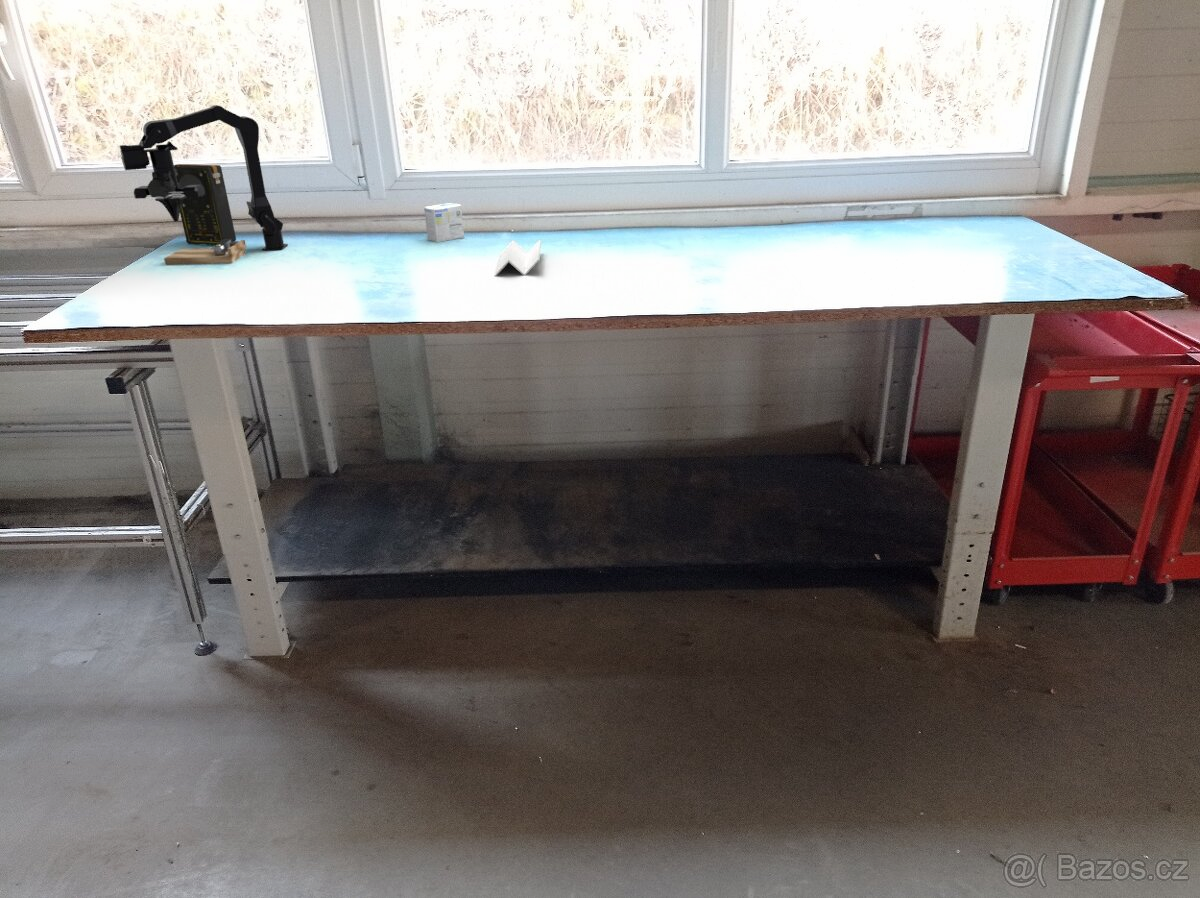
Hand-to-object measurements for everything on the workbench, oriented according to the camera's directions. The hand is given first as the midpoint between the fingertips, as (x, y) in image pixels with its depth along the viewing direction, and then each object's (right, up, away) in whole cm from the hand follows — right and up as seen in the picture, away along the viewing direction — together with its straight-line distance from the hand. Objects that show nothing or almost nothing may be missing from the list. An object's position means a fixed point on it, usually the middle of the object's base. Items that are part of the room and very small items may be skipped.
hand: (176, 221), depth 256 cm
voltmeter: (-1, 0, +27) cm, 27 cm away
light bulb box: (+77, +1, +26) cm, 81 cm away
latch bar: (+12, -8, +6) cm, 15 cm away
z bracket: (+104, -15, -6) cm, 105 cm away
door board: (+6, -10, +6) cm, 13 cm away
